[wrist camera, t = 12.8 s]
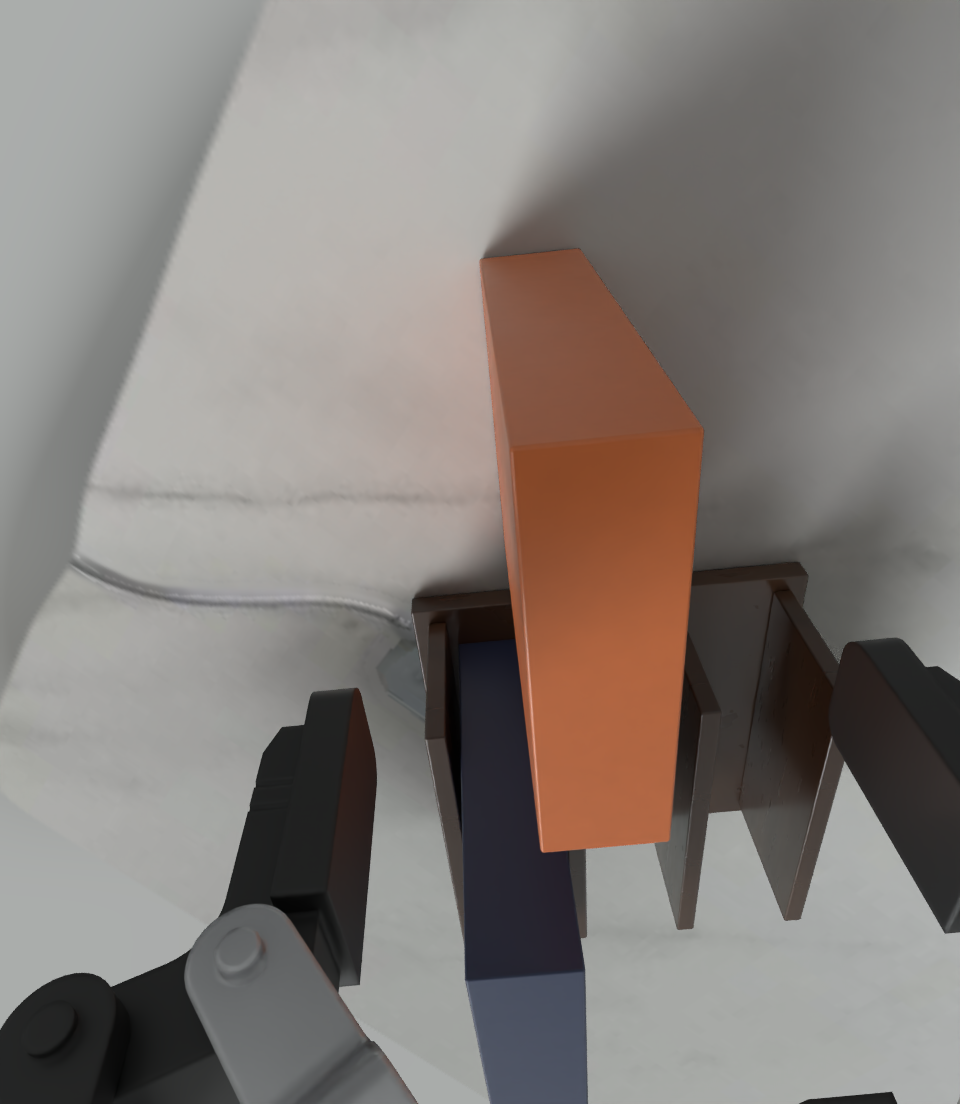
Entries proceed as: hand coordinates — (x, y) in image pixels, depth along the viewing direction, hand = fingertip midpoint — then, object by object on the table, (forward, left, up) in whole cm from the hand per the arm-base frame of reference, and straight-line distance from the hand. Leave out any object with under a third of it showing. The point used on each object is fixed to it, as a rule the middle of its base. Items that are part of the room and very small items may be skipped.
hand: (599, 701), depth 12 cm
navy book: (-2, -12, -10) cm, 16 cm away
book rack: (+2, -12, -11) cm, 16 cm away
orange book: (0, 0, -11) cm, 11 cm away
